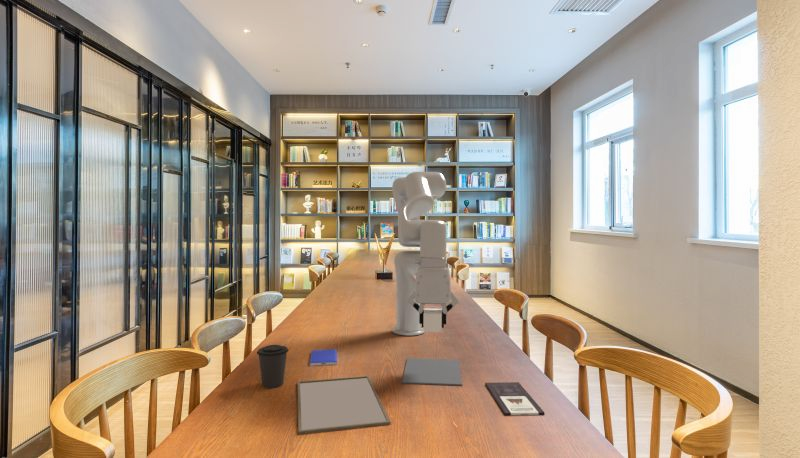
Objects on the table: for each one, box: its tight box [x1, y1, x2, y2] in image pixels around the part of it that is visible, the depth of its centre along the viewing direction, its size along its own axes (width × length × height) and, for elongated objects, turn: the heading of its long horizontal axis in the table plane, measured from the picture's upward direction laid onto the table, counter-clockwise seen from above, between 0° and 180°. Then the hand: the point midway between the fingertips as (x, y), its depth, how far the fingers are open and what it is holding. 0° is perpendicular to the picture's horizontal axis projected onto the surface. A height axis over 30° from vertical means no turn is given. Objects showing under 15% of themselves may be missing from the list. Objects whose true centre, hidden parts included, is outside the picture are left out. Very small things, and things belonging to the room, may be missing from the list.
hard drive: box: [309, 348, 338, 367], centre depth 136 cm, size 2×8×12 cm
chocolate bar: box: [484, 381, 545, 416], centre depth 106 cm, size 9×1×18 cm
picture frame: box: [297, 375, 391, 435], centre depth 104 cm, size 19×1×28 cm
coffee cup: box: [256, 344, 289, 389], centre depth 114 cm, size 8×8×10 cm
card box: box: [423, 306, 443, 333], centre depth 124 cm, size 10×5×5 cm, turn 175°
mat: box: [401, 357, 463, 387], centre depth 125 cm, size 20×16×1 cm
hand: (432, 325), depth 124 cm, fingers closed on card box, 5 cm apart
